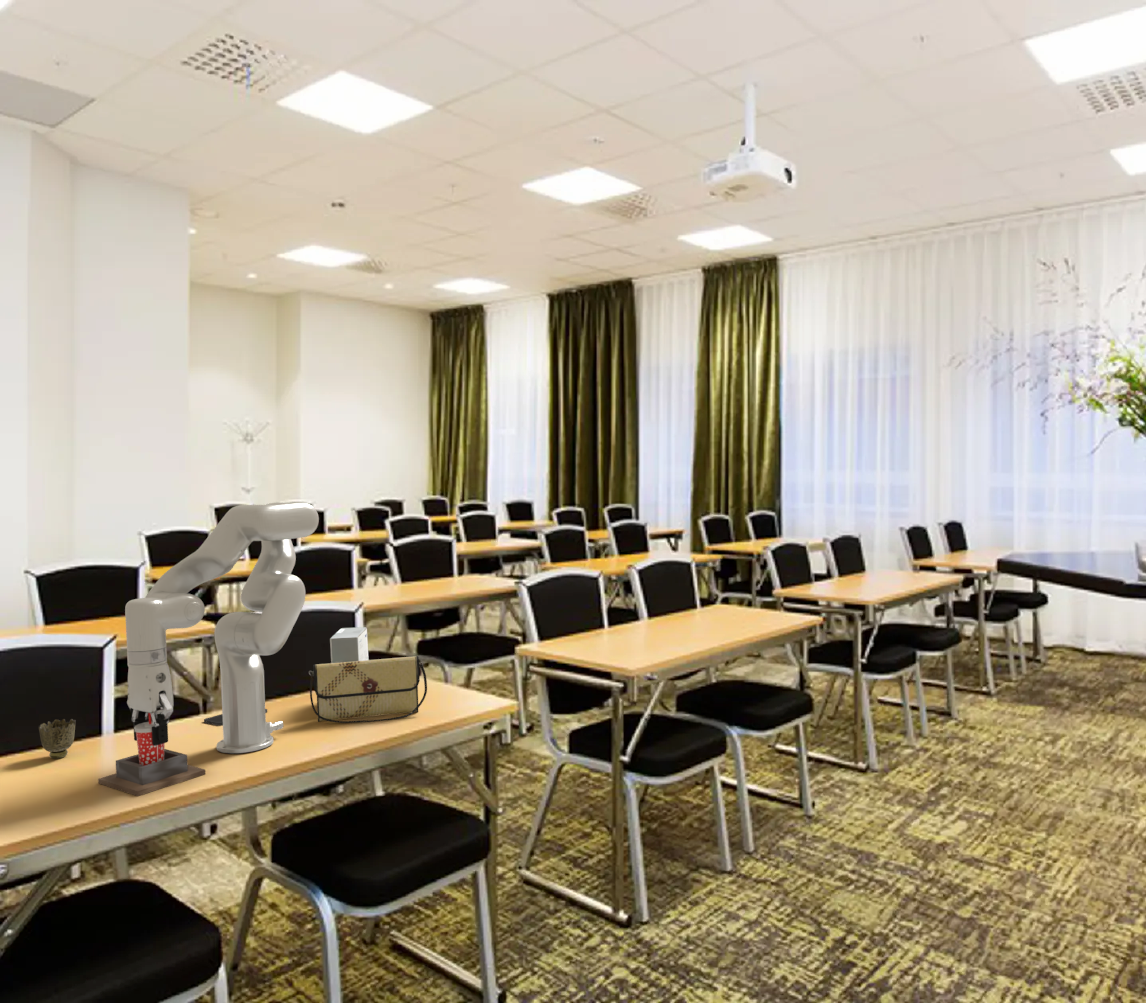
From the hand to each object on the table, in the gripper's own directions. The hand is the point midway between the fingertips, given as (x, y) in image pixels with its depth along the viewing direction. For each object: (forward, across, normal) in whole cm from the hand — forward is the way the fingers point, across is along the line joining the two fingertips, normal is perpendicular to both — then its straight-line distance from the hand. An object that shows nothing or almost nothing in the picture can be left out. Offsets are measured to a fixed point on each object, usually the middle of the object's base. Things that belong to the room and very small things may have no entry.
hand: (151, 740), depth 189 cm
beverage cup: (+6, 0, 0) cm, 6 cm away
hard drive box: (+8, +10, -64) cm, 66 cm away
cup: (+8, +34, +3) cm, 36 cm away
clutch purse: (+8, -6, -56) cm, 57 cm away
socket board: (+8, 0, 0) cm, 8 cm away
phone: (+9, +28, -39) cm, 49 cm away
